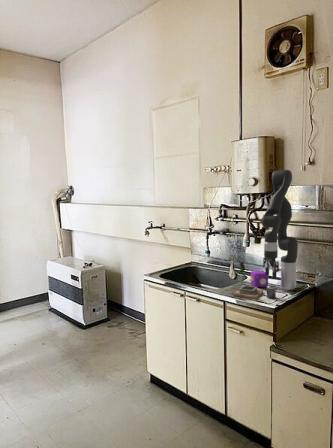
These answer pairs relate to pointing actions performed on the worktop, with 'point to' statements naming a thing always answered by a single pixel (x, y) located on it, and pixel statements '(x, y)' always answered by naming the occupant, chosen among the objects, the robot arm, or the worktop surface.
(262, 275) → the toy camera
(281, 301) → the worktop surface
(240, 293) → the lens mount
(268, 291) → the lens
